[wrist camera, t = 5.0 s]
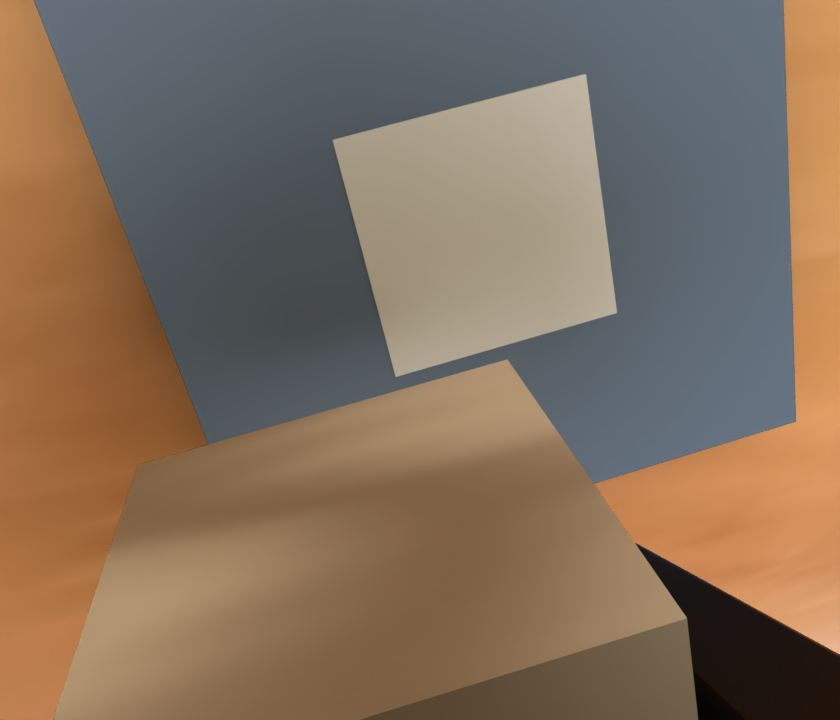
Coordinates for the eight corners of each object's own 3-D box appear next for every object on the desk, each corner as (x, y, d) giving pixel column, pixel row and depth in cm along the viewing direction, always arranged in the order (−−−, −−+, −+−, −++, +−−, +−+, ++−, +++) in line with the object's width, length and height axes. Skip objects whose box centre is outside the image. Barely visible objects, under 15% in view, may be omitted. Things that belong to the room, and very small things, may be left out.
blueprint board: (263, 563, 22) (263, 587, 21) (26, -50, 16) (10, -56, 15) (775, 406, 24) (798, 423, 23) (749, -218, 17) (779, -234, 16)
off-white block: (258, 729, 11) (244, 1150, 7) (137, 464, 9) (17, 824, 5) (563, 636, 11) (728, 987, 7) (506, 359, 9) (687, 618, 5)
